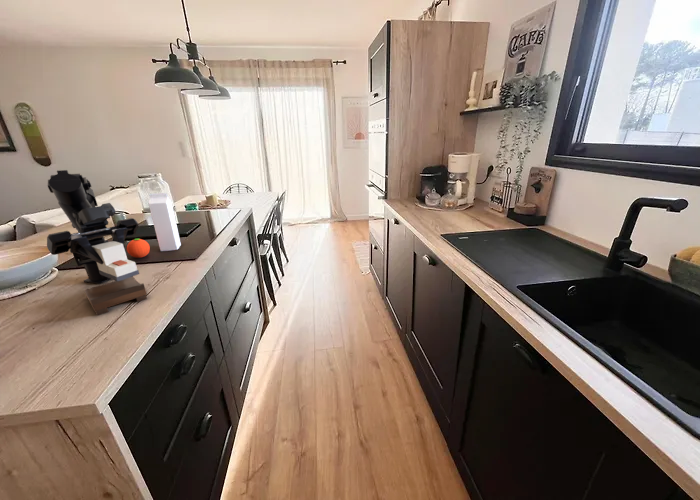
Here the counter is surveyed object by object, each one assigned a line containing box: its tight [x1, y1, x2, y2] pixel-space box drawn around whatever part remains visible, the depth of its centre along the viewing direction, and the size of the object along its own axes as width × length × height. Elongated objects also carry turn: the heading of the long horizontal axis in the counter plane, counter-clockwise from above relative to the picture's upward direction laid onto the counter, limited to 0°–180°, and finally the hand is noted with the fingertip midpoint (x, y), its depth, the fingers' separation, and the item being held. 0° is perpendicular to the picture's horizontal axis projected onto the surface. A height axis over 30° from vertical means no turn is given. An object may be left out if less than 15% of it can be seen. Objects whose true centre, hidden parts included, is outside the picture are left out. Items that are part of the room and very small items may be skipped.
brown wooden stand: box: [83, 276, 148, 316], centre depth 77 cm, size 12×11×4 cm
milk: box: [148, 192, 182, 252], centre depth 111 cm, size 6×6×22 cm
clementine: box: [126, 238, 151, 259], centre depth 106 cm, size 8×7×7 cm
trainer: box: [92, 240, 140, 282], centre depth 76 cm, size 10×5×8 cm, turn 62°
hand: (114, 259), depth 76 cm, fingers closed on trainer, 5 cm apart
